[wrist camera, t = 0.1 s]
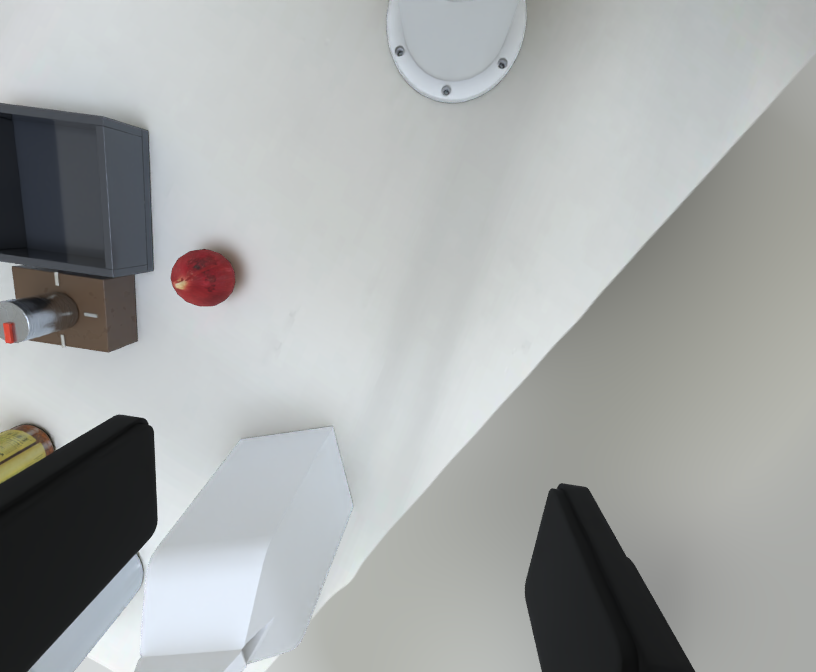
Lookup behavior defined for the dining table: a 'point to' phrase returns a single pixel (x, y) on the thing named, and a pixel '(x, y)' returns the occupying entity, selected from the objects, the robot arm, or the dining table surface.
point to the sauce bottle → (22, 449)
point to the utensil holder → (92, 622)
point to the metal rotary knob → (36, 316)
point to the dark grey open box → (74, 192)
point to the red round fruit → (203, 277)
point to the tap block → (85, 306)
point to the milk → (247, 556)
